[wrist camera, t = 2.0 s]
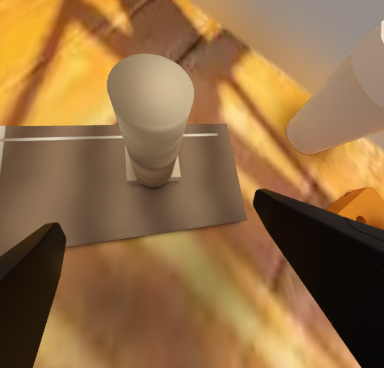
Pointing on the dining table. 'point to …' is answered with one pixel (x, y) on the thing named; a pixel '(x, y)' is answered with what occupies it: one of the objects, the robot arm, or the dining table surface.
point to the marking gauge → (151, 115)
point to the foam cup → (344, 101)
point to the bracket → (361, 207)
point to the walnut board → (110, 184)
